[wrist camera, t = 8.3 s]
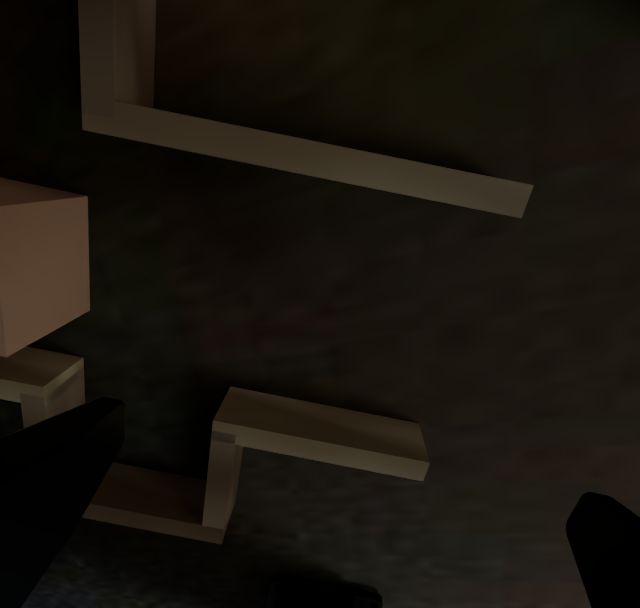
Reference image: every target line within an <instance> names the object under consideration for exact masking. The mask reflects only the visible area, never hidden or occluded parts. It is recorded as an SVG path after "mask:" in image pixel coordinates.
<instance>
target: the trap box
mask: <svg viewBox="0 0 640 608" xmlns="http://www.w3.org/2000/svg"><path fill="white" fill-rule="evenodd" d="M78 16H79V45H80V74H81V103H82V130H86V131H91V132H96V133H101V134H105V135H110V136H115V137H120V138H125V139H130V140H135V141H140V142H145V143H150V144H155V145H160V146H165V147H170V148H175V149H180V150H185V151H190V152H195V153H200V154H205V155H210V156H215V157H220V158H225V159H230V160H235V161H240V162H245V163H250V164H255V165H260V166H265V167H269V168H274V169H279V170H284V171H289V172H294V173H299V174H304V175H309V176H314V177H319V178H324V179H329V180H334V181H339V182H344V183H349V184H354V185H359V186H364V187H369V188H374V189H379V190H384V191H389V192H394V193H399V194H404V195H409V196H414V197H419V198H424V199H428V200H433V201H438V202H443V203H448V204H453V205H458V206H463V207H468V208H473V209H478V210H483V211H488V212H493V213H498V214H503V215H508V216H513V217H518V218H522V215H523V213H524V210H525V207H526V205H527V202H528V199H529V197H530V194H531V191H532V189H533V186H534V185H529V184H524V183H519V182H514V181H509V180H504V179H499V178H494V177H489V176H484V175H479V174H474V173H469V172H464V171H460V170H455V169H450V168H445V167H440V166H435V165H430V164H425V163H420V162H415V161H410V160H405V159H400V158H395V157H390V156H385V155H380V154H375V153H370V152H365V151H361V150H356V149H351V148H346V147H341V146H336V145H331V144H326V143H321V142H316V141H311V140H306V139H301V138H296V137H291V136H286V135H281V134H276V133H271V132H266V131H262V130H257V129H252V128H247V127H242V126H237V125H232V124H227V123H222V122H217V121H212V120H207V119H202V118H197V117H192V116H187V115H182V114H177V113H172V112H167V111H163V110H158V109H153V104H154V66H155V28H156V0H78ZM0 399H4V400H9V401H14V402H19V403H21V408H22V416H23V425H24V428H26V427H28V426H31V425H33V424H36V423H38V422H41V421H43V420H45V419H48V418H50V417H53V416H55V415H58V414H60V413H62V412H65V411H67V410H70V409H72V408H75V407H77V406H80V405H82V404H84V403H85V386H84V362H83V357H78V356H73V355H68V354H63V353H58V352H53V351H47V350H42V349H37V348H32V347H27V346H26V347H24V348H22V349H20V350H19V351H17V352H15V353H13V354H12V355H10V356H8V357H3V356H0ZM243 446H245V447H250V448H255V449H260V450H265V451H271V452H276V453H281V454H286V455H291V456H296V457H301V458H306V459H312V460H317V461H322V462H327V463H332V464H337V465H342V466H347V467H353V468H358V469H363V470H368V471H373V472H378V473H383V474H388V475H394V476H399V477H404V478H409V479H414V480H419V481H423V480H424V477H425V474H426V472H427V469H428V466H429V464H430V462H429V458H428V455H427V451H426V448H425V444H424V441H423V437H422V434H421V430H420V427H419V423H414V422H409V421H404V420H399V419H394V418H389V417H384V416H378V415H373V414H368V413H363V412H358V411H353V410H348V409H343V408H338V407H333V406H328V405H322V404H317V403H312V402H307V401H302V400H297V399H292V398H287V397H282V396H277V395H272V394H266V393H261V392H256V391H251V390H246V389H241V388H236V387H230V389H229V390H228V392H227V394H226V396H225V398H224V400H223V402H222V404H221V406H220V408H219V410H218V412H217V414H216V416H215V418H214V420H213V426H212V435H211V445H210V454H209V464H208V473H207V480H203V479H198V478H193V477H188V476H183V475H178V474H172V473H167V472H162V471H157V470H152V469H147V468H141V467H136V466H131V465H126V464H121V463H116V462H113V463H112V465H111V467H110V468H109V470H108V472H107V474H106V476H105V477H104V479H103V481H102V483H101V484H100V486H99V488H98V490H97V492H96V493H95V495H94V497H93V499H92V500H91V502H90V504H89V506H88V508H87V509H86V511H85V513H84V515H83V516H82V518H87V519H92V520H97V521H102V522H108V523H113V524H118V525H123V526H128V527H133V528H139V529H144V530H149V531H154V532H159V533H165V534H170V535H175V536H180V537H185V538H190V539H196V540H201V541H206V542H211V543H216V544H222V541H223V538H224V535H225V532H226V528H227V525H228V522H229V519H230V516H231V513H232V510H233V507H234V504H235V501H236V495H237V488H238V481H239V474H240V467H241V460H242V453H243Z"/></svg>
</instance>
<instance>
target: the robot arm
mask: <svg viewBox="0 0 640 608" xmlns="http://www.w3.org/2000/svg"><path fill="white" fill-rule="evenodd" d="M124 438H125V405H124V403H123V402H122V401H121V400H117V399H112V398H107V397H100V398H97V399H94V400H92V401H89V402H87V403H84V404H82V405H80V406H77V407H75V408H72V409H70V410H67V411H65V412H62V413H60V414H58V415H55V416H53V417H50V418H48V419H45V420H43V421H41V422H38V423H36V424H33V425H31V426H28V427H26V428H23V429H21V430H19V431H16V432H14V433H11V434H9V435H6V436H4V437H1V438H0V608H21V606H22V605H23V604H24V602H25V601H26V599H27V598H28V596H29V595H30V593H31V592H32V591H33V589H34V588H35V586H36V585H37V583H38V582H39V580H40V579H41V578H42V576H43V575H44V573H45V572H46V570H47V569H48V567H49V566H50V565H51V563H52V562H53V560H54V559H55V557H56V556H57V554H58V553H59V552H60V550H61V549H62V547H63V546H64V544H65V543H66V541H67V540H68V539H69V537H70V535H71V534H72V532H73V531H74V529H75V528H76V526H77V525H78V523H79V521H80V520H81V518H82V516H83V515H84V513H85V511H86V509H87V508H88V506H89V504H90V502H91V500H92V499H93V497H94V495H95V493H96V492H97V490H98V488H99V486H100V484H101V483H102V481H103V479H104V477H105V476H106V474H107V472H108V470H109V468H110V467H111V465H112V463H113V461H114V460H115V458H116V456H117V454H118V452H119V451H120V449H121V447H122V444H123V442H124ZM566 533H567V537H568V540H569V543H570V546H571V549H572V552H573V555H574V557H575V560H576V563H577V566H578V569H579V572H580V575H581V578H582V581H583V584H584V587H585V590H586V593H587V596H588V599H589V601H590V604H591V607H592V608H640V517H639V516H637V515H636V514H634V513H633V512H632V511H630V510H629V509H627V508H626V507H625V506H623V505H622V504H621V503H619V502H618V501H616V500H615V499H613V498H612V497H610V496H607V495H602V494H597V493H592V492H587V493H585V494H583V495H582V496H581V498H580V499H579V501H578V503H577V504H576V506H575V508H574V510H573V511H572V513H571V515H570V516H569V518H568V520H567V523H566ZM382 606H383V605H382V597H381V595H380V594H378V593H375V592H370V591H365V590H359V589H354V588H349V587H344V586H339V585H333V584H328V583H323V582H318V581H313V580H307V579H302V578H297V577H292V576H287V575H281V574H278V575H274V576H273V577H272V580H271V585H270V589H269V594H268V599H267V604H266V608H382Z"/></svg>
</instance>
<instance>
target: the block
mask: <svg viewBox="0 0 640 608" xmlns="http://www.w3.org/2000/svg"><path fill="white" fill-rule="evenodd" d="M89 310H90V292H89V241H88V196H85V195H80V194H75V193H71V192H66V191H61V190H56V189H52V188H47V187H42V186H38V185H33V184H28V183H24V182H19V181H14V180H10V179H5V178H0V356H3V357H8V356H10V355H12V354H13V353H15V352H17V351H19V350H20V349H22V348H24V347H26V346H27V345H29V344H31V343H33V342H35V341H36V340H38V339H40V338H42V337H43V336H45V335H47V334H49V333H51V332H52V331H54V330H56V329H58V328H59V327H61V326H63V325H65V324H66V323H68V322H70V321H72V320H74V319H75V318H77V317H79V316H81V315H82V314H84V313H86V312H88V311H89Z"/></svg>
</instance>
